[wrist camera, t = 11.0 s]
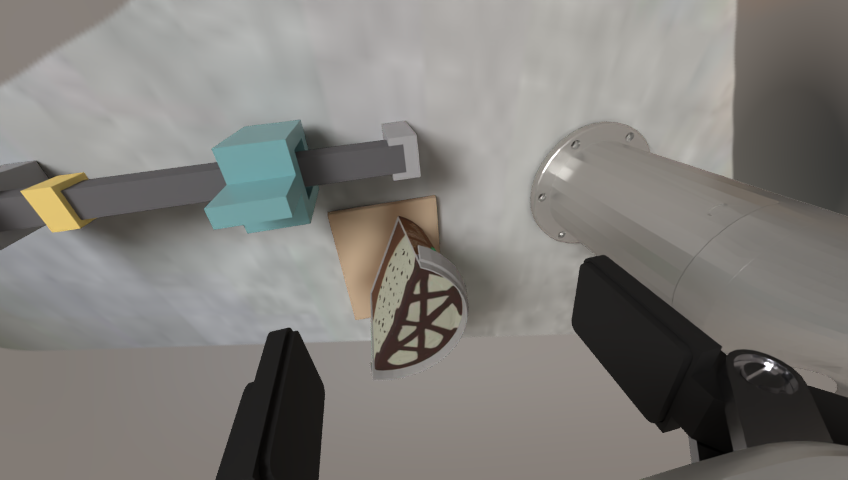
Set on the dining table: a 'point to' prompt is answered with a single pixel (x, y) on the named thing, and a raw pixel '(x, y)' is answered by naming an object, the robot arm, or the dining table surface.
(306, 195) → the sleeve
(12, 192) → the rail
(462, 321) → the food container
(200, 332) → the dining table surface
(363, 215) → the mat
